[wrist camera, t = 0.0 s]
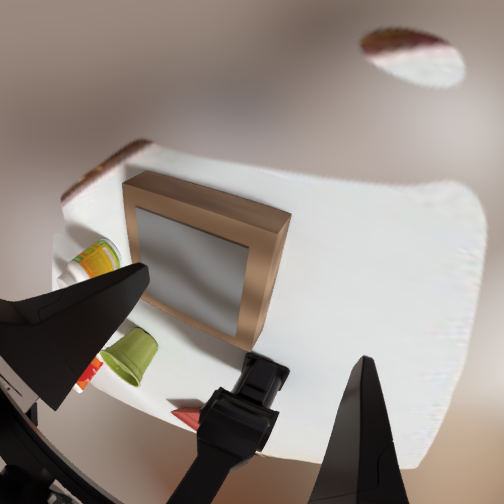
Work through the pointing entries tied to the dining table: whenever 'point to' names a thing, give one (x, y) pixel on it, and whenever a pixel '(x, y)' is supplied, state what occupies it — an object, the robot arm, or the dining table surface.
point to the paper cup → (87, 375)
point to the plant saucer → (188, 416)
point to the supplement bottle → (91, 263)
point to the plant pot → (131, 356)
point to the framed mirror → (205, 254)
